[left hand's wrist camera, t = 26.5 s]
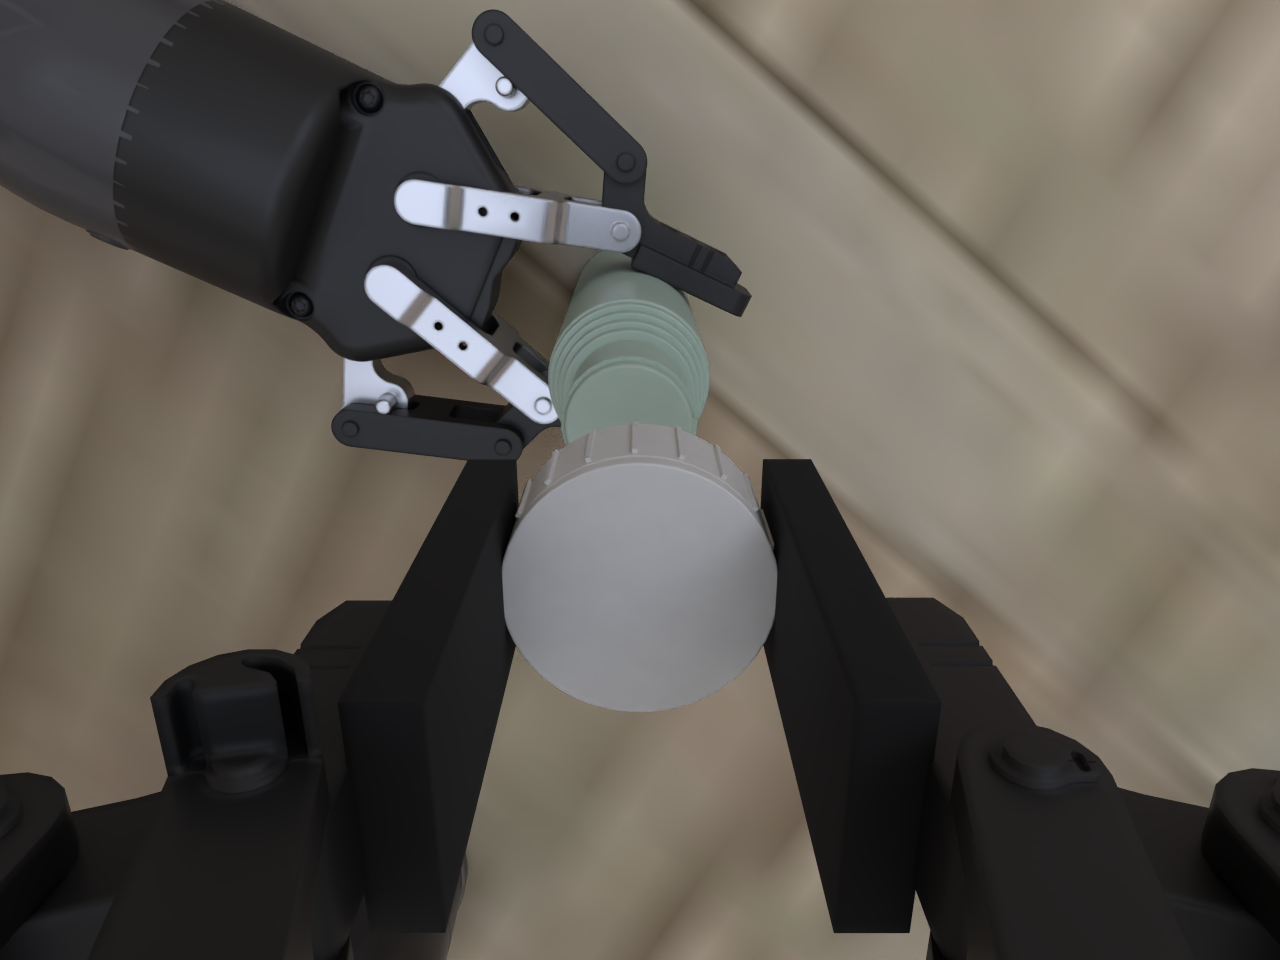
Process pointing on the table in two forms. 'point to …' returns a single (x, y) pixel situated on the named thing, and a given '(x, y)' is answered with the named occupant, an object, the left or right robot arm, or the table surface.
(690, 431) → the bottle
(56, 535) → the table surface
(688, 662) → the cap
